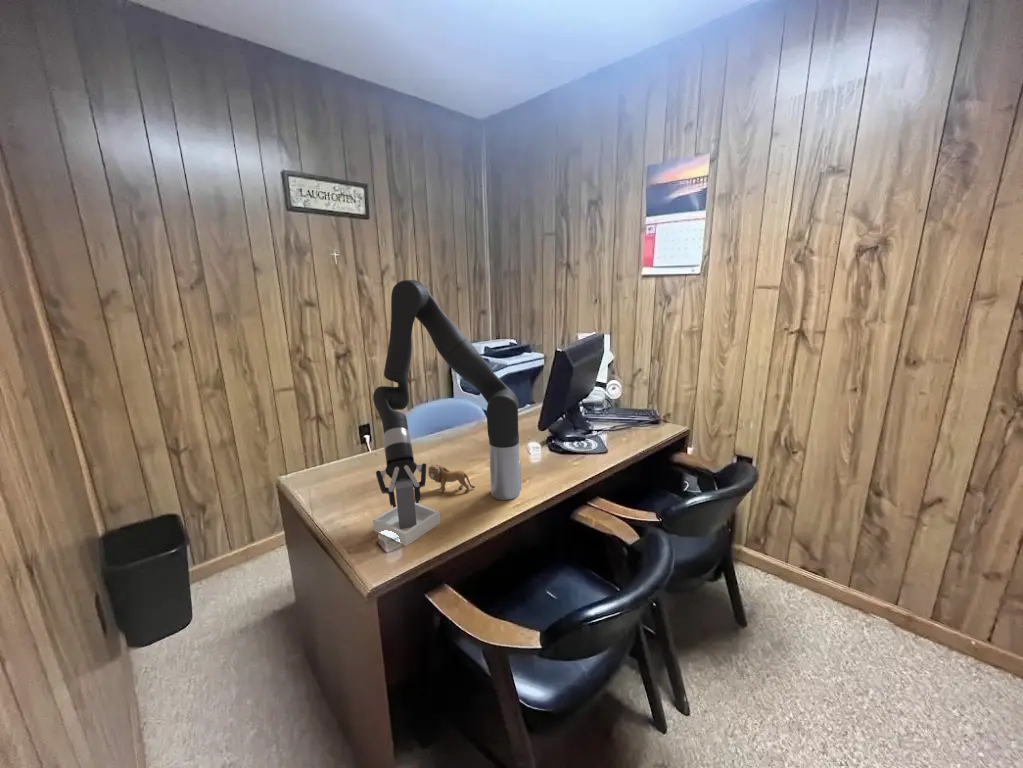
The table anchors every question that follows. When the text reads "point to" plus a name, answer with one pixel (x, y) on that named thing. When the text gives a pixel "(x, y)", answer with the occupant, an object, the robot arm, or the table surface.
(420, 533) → the tray
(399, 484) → the handle block
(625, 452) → the table surface
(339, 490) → the table surface
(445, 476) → the lion figurine
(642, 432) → the table surface
